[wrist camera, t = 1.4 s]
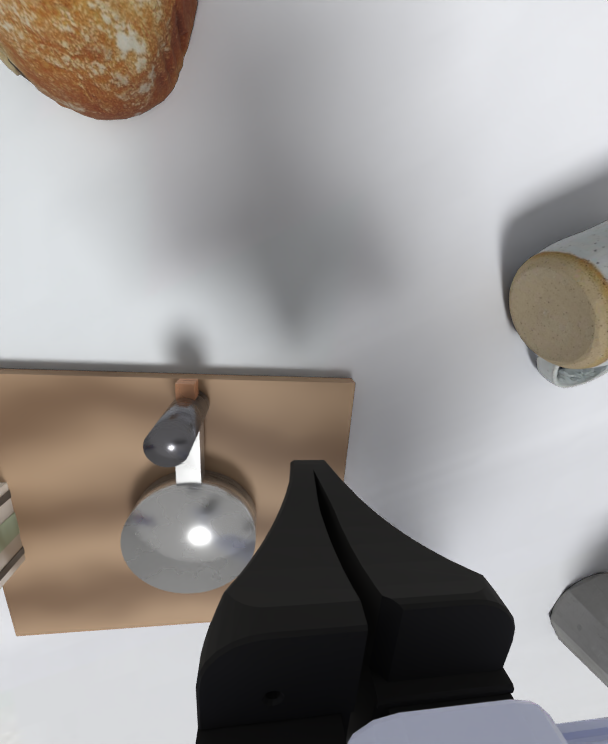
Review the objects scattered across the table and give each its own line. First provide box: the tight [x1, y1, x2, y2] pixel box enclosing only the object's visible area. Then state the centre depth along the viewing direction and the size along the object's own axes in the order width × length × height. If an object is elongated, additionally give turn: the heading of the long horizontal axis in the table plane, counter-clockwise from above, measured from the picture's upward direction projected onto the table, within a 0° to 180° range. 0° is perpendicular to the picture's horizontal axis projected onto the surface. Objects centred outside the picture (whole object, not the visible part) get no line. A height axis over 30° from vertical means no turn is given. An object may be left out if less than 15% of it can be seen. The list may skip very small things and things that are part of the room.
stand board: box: [0, 368, 355, 636], centre depth 20 cm, size 20×23×4 cm
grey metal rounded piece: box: [120, 378, 257, 594], centre depth 18 cm, size 14×8×5 cm, turn 176°
